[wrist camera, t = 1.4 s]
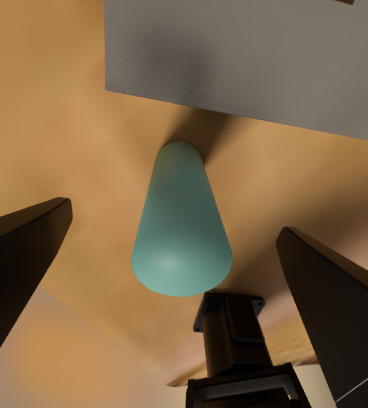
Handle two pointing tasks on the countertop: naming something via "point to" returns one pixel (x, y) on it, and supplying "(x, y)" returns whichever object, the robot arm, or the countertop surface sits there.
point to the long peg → (180, 228)
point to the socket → (246, 58)
